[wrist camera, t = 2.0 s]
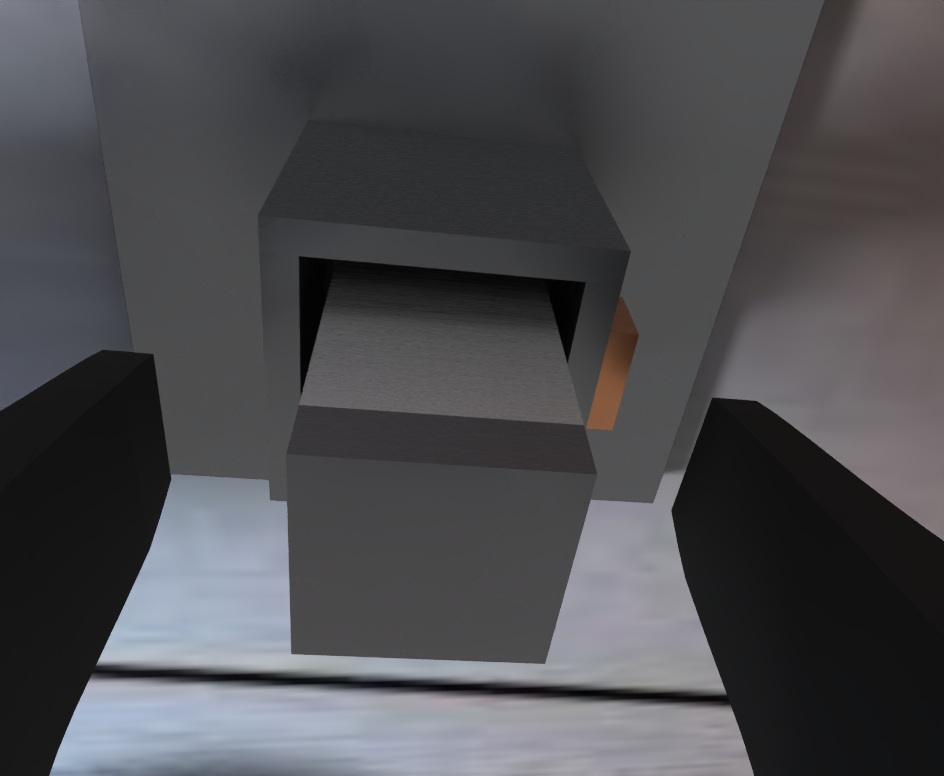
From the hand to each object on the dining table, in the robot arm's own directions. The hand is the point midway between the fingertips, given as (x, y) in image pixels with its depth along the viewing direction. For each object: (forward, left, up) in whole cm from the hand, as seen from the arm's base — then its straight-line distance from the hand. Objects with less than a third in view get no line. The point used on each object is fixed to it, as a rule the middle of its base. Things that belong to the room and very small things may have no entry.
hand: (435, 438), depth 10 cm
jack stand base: (0, 0, -7) cm, 7 cm away
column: (0, 0, -5) cm, 5 cm away
